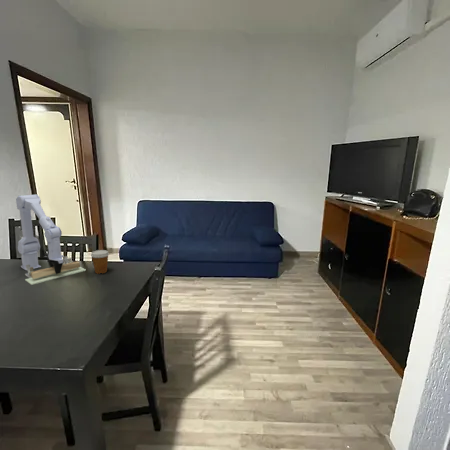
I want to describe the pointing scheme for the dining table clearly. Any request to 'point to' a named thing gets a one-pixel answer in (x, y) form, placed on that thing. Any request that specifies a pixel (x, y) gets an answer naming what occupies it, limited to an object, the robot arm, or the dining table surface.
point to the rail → (52, 271)
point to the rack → (30, 269)
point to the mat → (54, 276)
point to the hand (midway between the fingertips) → (56, 272)
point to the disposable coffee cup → (100, 261)
